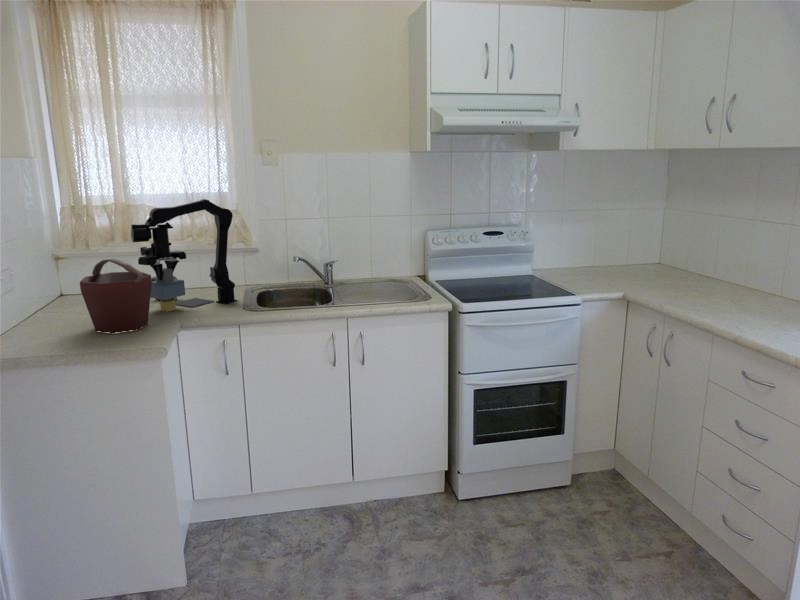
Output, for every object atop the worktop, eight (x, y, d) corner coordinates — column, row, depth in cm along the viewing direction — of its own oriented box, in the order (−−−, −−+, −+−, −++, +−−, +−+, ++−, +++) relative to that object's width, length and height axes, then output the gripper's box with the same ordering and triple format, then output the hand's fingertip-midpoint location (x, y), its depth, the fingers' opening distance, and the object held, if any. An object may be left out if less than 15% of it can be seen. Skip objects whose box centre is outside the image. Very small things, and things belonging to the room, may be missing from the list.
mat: (214, 301, 246) (214, 300, 246) (192, 307, 236) (192, 306, 236) (194, 298, 252) (194, 297, 252) (172, 304, 241) (172, 303, 241)
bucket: (164, 328, 207) (157, 259, 201) (98, 341, 192) (88, 268, 186) (138, 316, 224) (131, 252, 218) (76, 327, 209) (66, 259, 203)
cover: (185, 294, 233) (182, 268, 231) (164, 299, 225) (162, 272, 222) (168, 292, 238) (165, 266, 235) (147, 297, 229) (144, 270, 227)
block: (175, 309, 233) (174, 300, 233) (167, 312, 230) (166, 302, 229) (169, 308, 235) (168, 299, 234) (160, 310, 232) (159, 301, 231)
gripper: (166, 236, 238) (170, 273, 241) (126, 242, 222) (131, 281, 226) (185, 238, 233) (189, 276, 236) (145, 243, 217) (150, 284, 220)
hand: (165, 279), depth 230 cm, fingers closed on cover, 4 cm apart
